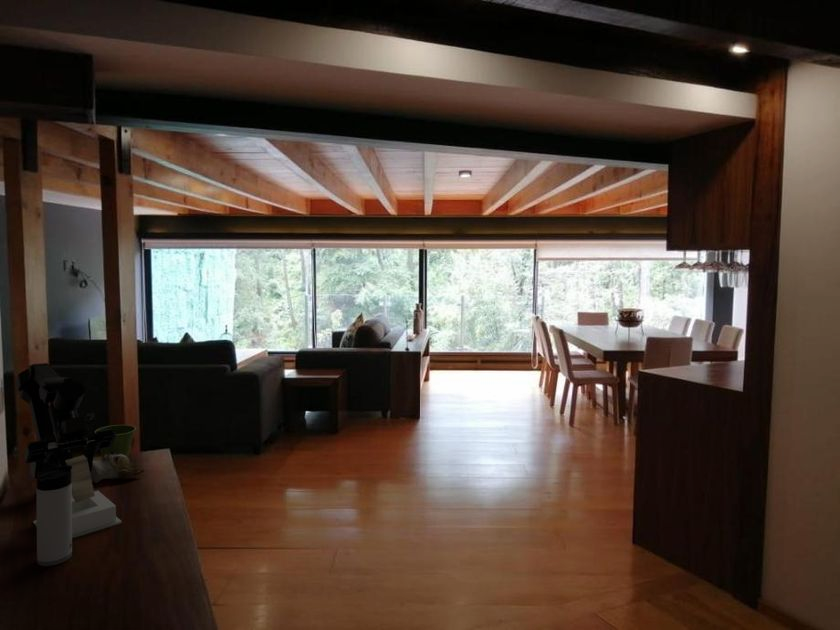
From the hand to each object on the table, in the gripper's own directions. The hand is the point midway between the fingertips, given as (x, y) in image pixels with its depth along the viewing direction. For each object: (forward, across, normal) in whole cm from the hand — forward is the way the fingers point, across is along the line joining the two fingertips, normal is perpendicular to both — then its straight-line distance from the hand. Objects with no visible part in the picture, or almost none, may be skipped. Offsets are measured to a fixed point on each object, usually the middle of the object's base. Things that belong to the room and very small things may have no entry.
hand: (79, 474), depth 126 cm
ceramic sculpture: (-9, +16, +28) cm, 34 cm away
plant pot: (-19, +21, +38) cm, 47 cm away
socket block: (+8, 0, +10) cm, 13 cm away
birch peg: (+4, +1, +5) cm, 7 cm away
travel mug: (+19, -8, 0) cm, 20 cm away
